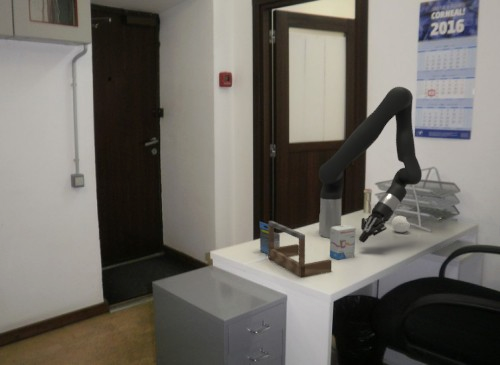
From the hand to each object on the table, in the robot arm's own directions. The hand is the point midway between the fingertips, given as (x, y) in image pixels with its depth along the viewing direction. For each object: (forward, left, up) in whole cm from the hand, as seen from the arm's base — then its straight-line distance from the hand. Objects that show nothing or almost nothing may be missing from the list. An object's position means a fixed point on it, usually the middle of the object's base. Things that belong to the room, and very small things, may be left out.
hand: (361, 241), depth 180 cm
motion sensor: (-16, +36, -5) cm, 40 cm away
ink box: (0, -9, -5) cm, 10 cm away
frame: (0, -28, -5) cm, 28 cm away
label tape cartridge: (-18, -31, -5) cm, 36 cm away
